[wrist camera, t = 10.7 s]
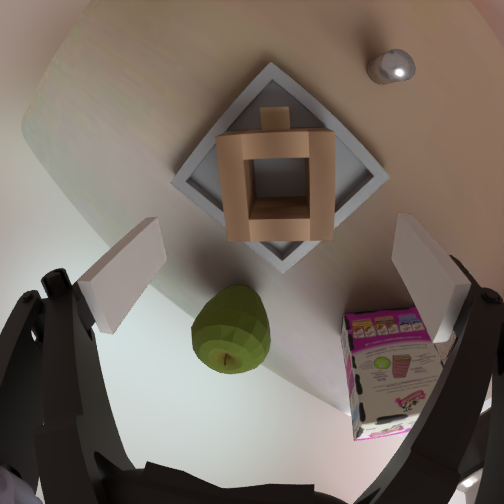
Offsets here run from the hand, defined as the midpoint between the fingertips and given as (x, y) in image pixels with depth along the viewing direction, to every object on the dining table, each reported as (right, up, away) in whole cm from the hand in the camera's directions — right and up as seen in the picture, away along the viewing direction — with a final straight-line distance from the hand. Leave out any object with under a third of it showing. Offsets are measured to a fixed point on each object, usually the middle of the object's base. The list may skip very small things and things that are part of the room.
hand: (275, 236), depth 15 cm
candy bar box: (+16, -10, +21) cm, 28 cm away
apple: (-3, -6, +21) cm, 22 cm away
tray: (+2, +7, +13) cm, 15 cm away
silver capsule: (+11, +17, +6) cm, 21 cm away
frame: (+1, +7, +12) cm, 14 cm away
